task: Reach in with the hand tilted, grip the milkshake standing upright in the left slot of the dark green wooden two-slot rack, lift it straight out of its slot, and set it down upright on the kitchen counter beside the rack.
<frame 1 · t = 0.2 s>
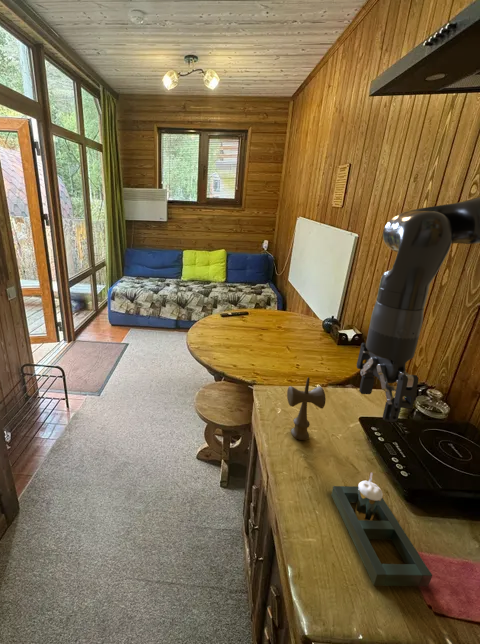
hand: (376, 405, 59), 29 cm above the kitchen counter, tool pointing down, fingers open, 8 cm apart
milkshake: (362, 516, 69), on the kitchen counter
rack: (373, 534, 65), on the kitchen counter
kendama: (299, 436, 92), on the kitchen counter
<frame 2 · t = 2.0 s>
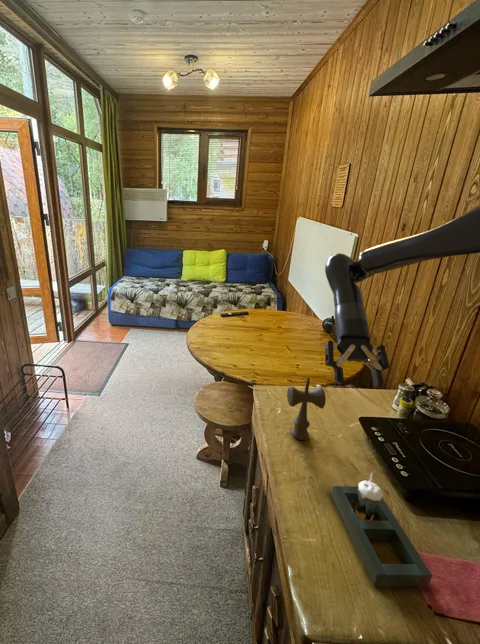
hand: (359, 385, 74), 25 cm above the kitchen counter, tool tilted 45°, fingers open, 8 cm apart
nothing on the kitchen counter moved.
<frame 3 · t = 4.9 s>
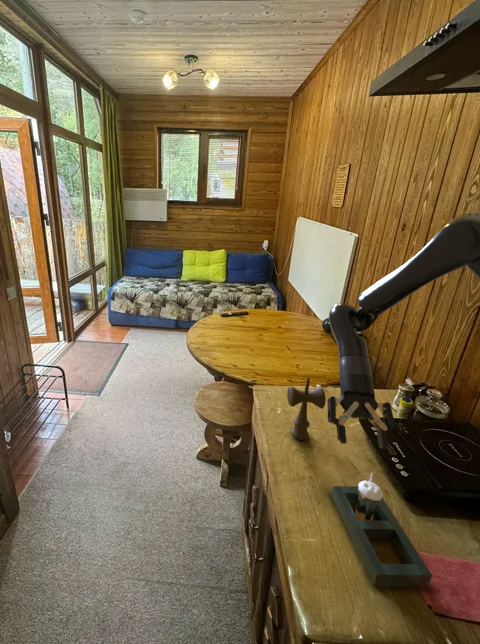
hand: (363, 446, 71), 13 cm above the kitchen counter, tool tilted 45°, fingers open, 8 cm apart
nothing on the kitchen counter moved.
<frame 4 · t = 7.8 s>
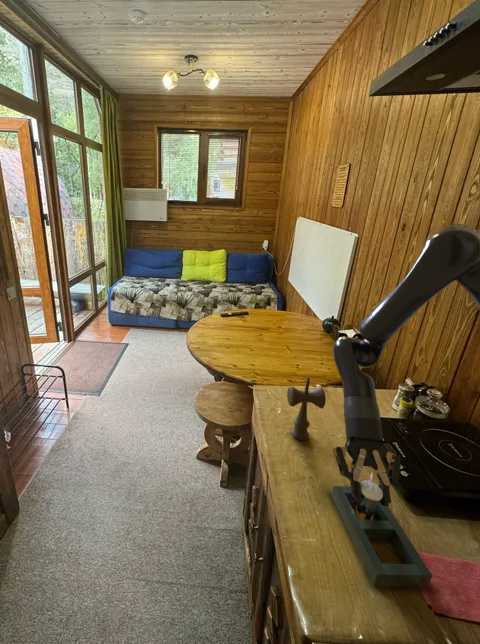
hand: (371, 503, 65), 6 cm above the kitchen counter, tool tilted 45°, fingers closed on milkshake, 4 cm apart
milkshake: (362, 516, 69), on the kitchen counter, touching gripper
everything else where it was.
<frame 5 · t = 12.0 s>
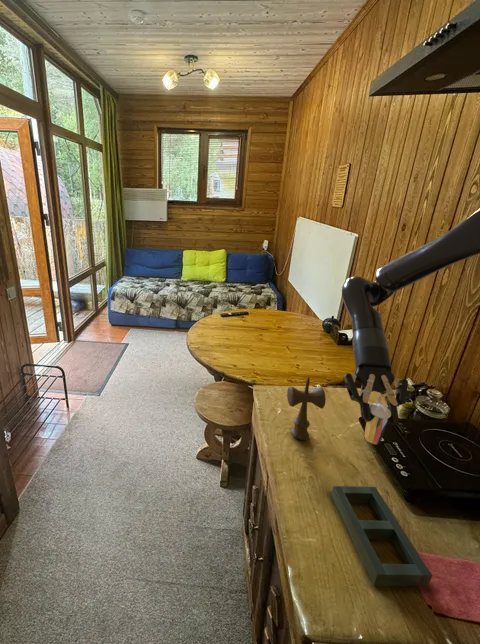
hand: (380, 422, 69), 20 cm above the kitchen counter, tool tilted 45°, fingers closed on milkshake, 4 cm apart
milkshake: (371, 439, 72), point 14 cm above the kitchen counter, touching gripper
everything else where it was.
when the fingers open (6 cm above the kitchen counter, at t = 16.5 s): milkshake stays where it is, on the kitchen counter.
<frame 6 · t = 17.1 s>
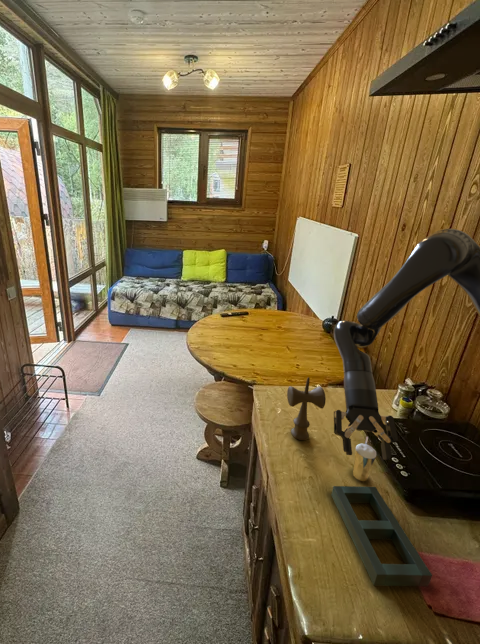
hand: (367, 457, 75), 7 cm above the kitchen counter, tool tilted 45°, fingers open, 8 cm apart
milkshake: (359, 475, 79), on the kitchen counter
everything else where it was.
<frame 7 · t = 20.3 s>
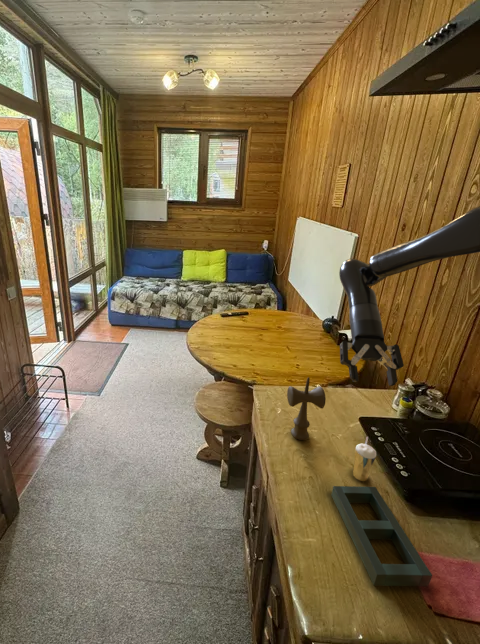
hand: (373, 383, 76), 24 cm above the kitchen counter, tool tilted 45°, fingers open, 8 cm apart
nothing on the kitchen counter moved.
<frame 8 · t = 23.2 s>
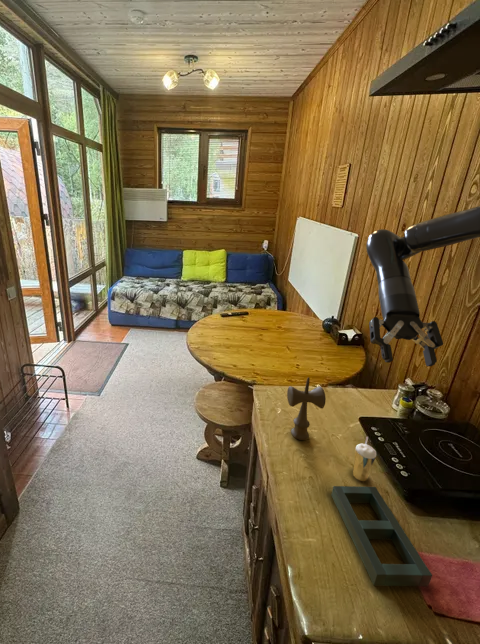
hand: (409, 363, 68), 33 cm above the kitchen counter, tool tilted 45°, fingers open, 8 cm apart
nothing on the kitchen counter moved.
at the end: milkshake inside the target area (0.2 cm from its centre), on the kitchen counter; milkshake tilted 0°; the gripper is holding nothing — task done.
